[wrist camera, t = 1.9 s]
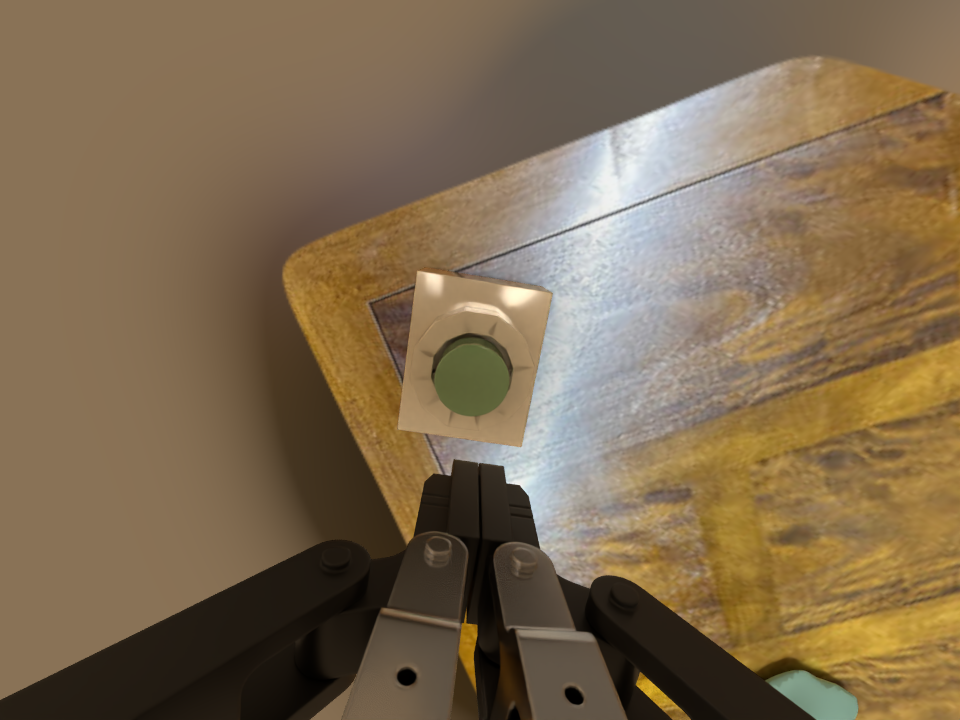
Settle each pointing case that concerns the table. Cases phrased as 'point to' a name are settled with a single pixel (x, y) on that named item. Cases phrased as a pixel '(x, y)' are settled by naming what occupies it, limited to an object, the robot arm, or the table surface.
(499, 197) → the table surface
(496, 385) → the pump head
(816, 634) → the table surface
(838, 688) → the penguin figurine
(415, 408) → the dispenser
